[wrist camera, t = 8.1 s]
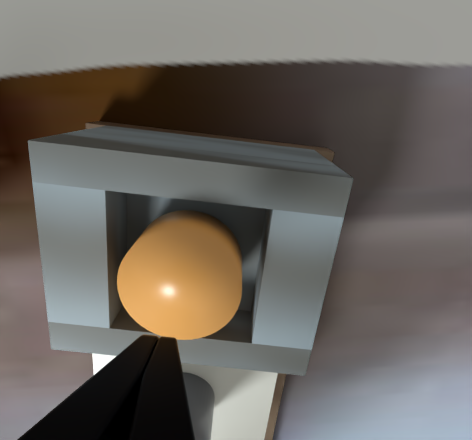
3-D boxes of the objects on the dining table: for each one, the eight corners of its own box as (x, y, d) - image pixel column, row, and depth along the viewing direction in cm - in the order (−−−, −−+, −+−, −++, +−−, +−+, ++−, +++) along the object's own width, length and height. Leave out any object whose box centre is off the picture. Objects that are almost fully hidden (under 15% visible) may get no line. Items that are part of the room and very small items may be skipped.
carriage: (259, 412, 20) (268, 578, 13) (113, 397, 20) (43, 557, 13) (277, 319, 17) (299, 463, 11) (111, 301, 17) (22, 435, 10)
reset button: (236, 309, 13) (234, 345, 11) (136, 299, 13) (117, 333, 11) (248, 216, 12) (249, 239, 10) (136, 204, 11) (115, 224, 10)
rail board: (253, 503, 27) (256, 641, 20) (112, 489, 27) (66, 624, 20) (326, 147, 17) (385, 182, 10) (98, 121, 17) (-6, 136, 10)
